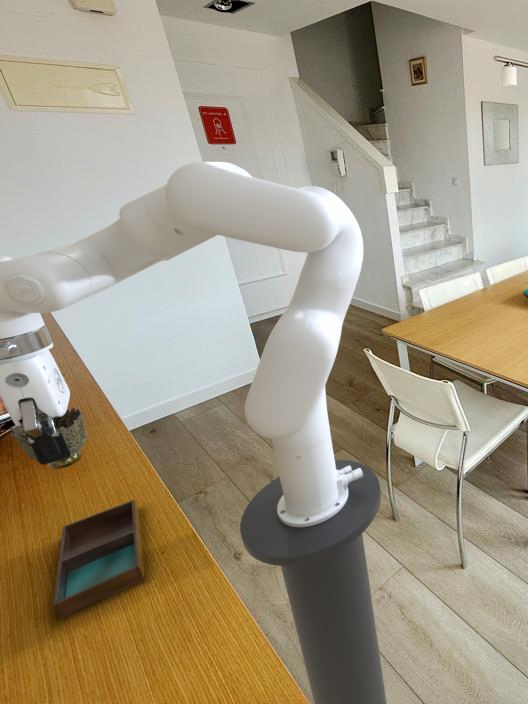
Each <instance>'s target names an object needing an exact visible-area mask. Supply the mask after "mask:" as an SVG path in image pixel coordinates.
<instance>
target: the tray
mask: <svg viewBox="0 0 528 704" xmlns="http://www.w3.org/2000/svg"><path fill="white" fill-rule="evenodd" d="M140 521H141V519H140V511H139V509H138V506H137V503H136V501H135V499H131V500H129V501H127V502H124V503H121V504H119V505H116V506H113V507H110V508H108V509H105V510H102V511H100V512H97V513H95V514H92V515H90V516H87V517H84V518H81V519H78V520H76V521H73V522H71V523H68V524H66V525H63V526H62V529H61V537H60V546H59V553H58V554H59V555H58V562H57V571H56V579H55V586H54V593H53V603H52V607H53V608H54V610H55V612H56V614H57V616H58V618H59V620H60V621H62V620H64V619H66V618H68V617H70V616H72V615H74V614H77V613H79V612H80V611H82V610H84V609H87V608H89V607H91V606H93V605H95V604H97V603H100V602H101V601H104V600H106V599H108V598H110V597H112V596H114V595H116V594H118V593H120V592H123V591H125V590H127V589H128V588H131V587H133V586H135V585H137V584H140V583H142V582H143V581H145V568H144V555H143V544H142V532H141V522H140Z"/></svg>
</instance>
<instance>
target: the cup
mask: <svg viewBox="0 0 528 704" xmlns="http://www.w3.org/2000/svg"><path fill="white" fill-rule="evenodd" d="M45 417H47V414H45V415H39V416H38V418H39V419H41V418H45ZM54 420H55V423H56V427H57V430H58V434H59V433H62V434H63V436H64V439H65V441H66V443H67V445H68V447H69V450H70V452H71V455H70V457H68V458H64V459H61V460H58V461H54V462H51V463H48V464H47V466H48V467H49V468H51V469H54V470H61V469H65V468H67V467H71V466H72V465H75V464H76V463H78V462H79V461H80V459H81V458H82V452H81V451H82V450H83V448H84V447H85V445H86V443H87V429H86V425H85V421H84V417H83V412H82V410H81V411H80V409H79V408H75V407H72V408H71V409H70V410H69V409H68V408H67V411H66V413H65V414H64V415H63V416H62V417H58V416H57V417H54ZM41 425H42V427H47V428H49V426H48V422H44V423H41ZM11 437H13V439H14V441H16V443H17V444H18V445H19V447H20V448H21V449H22V450H23V452H24V453H25V454H26V455H27V456H28V457H29V458H30V459H32V460H33V461H35V462H37V463H39V461H38V459H37V457H36V455H35V453H34V451H33V449H32V447H31V445H30V442H29V440H28V436H27V433H26V432H25V430H24V426H23V427H21V426H15V427H11Z"/></svg>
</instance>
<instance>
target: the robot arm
mask: <svg viewBox="0 0 528 704" xmlns="http://www.w3.org/2000/svg"><path fill="white" fill-rule="evenodd" d="M118 213H119V218H118V219H117V220H116V221H114V222H112V223H111V224H110V225H108V226H106V227H104V228H102V229H100V230H99V231H96V232H94V233H92V234H90V235H87V236H86V237H84V238H82V239H80V240H78V241H76V242H73V243H70V244H68V245H65V246H62V247H57V248H53V249H49V250H46V251H42V252H38V253H36V254H32V255H27V256H24V257H20V258H15V259H14V258H13V257H11V256H8V255H3V254H0V399H1V401H2V402H3V405H4V408H5V409H6V411H7V413H8V415H9V417H10V418H11V421H12V422H13V423H14V425H15V426H16V427H19V426H21V427H23V426H24V430H25V432H26V433H27V436H28V440H29V442H30V445H31V447H32V449H33V451H34V453H35V455H36V457H37V459H38V461H39V462H38V463H39V465H41V466H42V465H43V466H44V465H45V466H46V465H48V463H51V462H54V461H58V460H61V459H64V458H68V457H70V455H71V452H70V450H69V447H68V445H67V443H66V441H65V439H64V436H63V434H62V433H59V434H58V430H57V427H56V423H55V420H54V417H57V416H58V417H62V416H63V415H64V414H65V413H66V411H67V409H68V406H69V402H70V399H71V398H70V397H71V392H70V388H69V386H68V384H67V382H66V380H65V378H64V376H63V374H62V372H61V370H60V368H59V366H58V364H57V362H56V360H55V358H54V356H53V355H52V353H51V351H50V350H51V349H52V348H53V347H54V343H53V340H52V338H51V336H50V333H49V331H48V328H47V326H46V324H45V321H44V319H43V317H42V314H46V313H52V312H57V311H61V310H64V309H66V308H69V307H70V306H73V305H75V304H77V303H80V302H81V301H83V300H85V299H87V298H89V297H92V296H94V295H97V294H98V293H100V292H103V291H105V290H108V289H109V288H111V287H113V286H116V284H119V283H121V282H122V281H124V280H126V279H129V278H130V277H132V276H135V275H136V274H138V273H140V272H142V271H144V270H146V269H147V268H150V267H152V266H154V265H156V264H158V263H160V262H163V261H170V260H172V259H174V258H176V257H177V256H180V255H181V254H184V253H185V252H187V251H189V250H191V249H193V248H195V247H197V246H198V245H199V246H200V245H201V244H204V243H205V242H207V241H209V240H210V239H211V240H212V239H213V238H215V237H217V236H221V237H225V238H229V239H234V240H238V241H242V242H247V243H252V244H256V245H261V246H266V247H270V248H275V249H280V250H284V251H289V252H296V253H304V254H305V253H306V256H305V259H304V263H303V265H302V268H301V271H300V273H299V277H298V279H297V280H298V281H297V283H296V286H295V289H294V292H293V294H292V297H291V299H290V302H289V303H288V306H287V307H286V309H285V311H284V312H283V313H282V315H281V316H280V317H279V319H278V320H277V322H276V324H275V326H274V327H273V328H272V330H271V332H270V333H269V336H268V338H267V340H266V342H265V345H264V348H263V351H262V353H261V356H260V359H259V362H258V365H257V367H256V371H255V373H254V376H253V379H252V381H251V385H250V386H249V387H250V388H249V391H248V392H247V396H246V399H245V401H244V417H245V420H246V423H247V424H248V426H249V427H250V428H251V429H252V430H253V431H254V433H256V434H257V435H258V436H261V437H263V438H267V439H270V440H271V444H272V449H273V453H274V459H275V463H276V467H277V471H278V477H280V481H281V486H282V490H283V494H284V495H283V496H282V497H281V499H280V500H279V503H278V505H277V512H278V516H279V519H280V520H281V521H282V522H283V523H284V524H286V525H288V526H291V527H308V526H313V525H316V524H319V523H321V522H324V521H326V520H327V519H329V518H331V517H332V516H334V515H335V514H336V513H338V512H339V511H340V510H341V509H342V507H343V506H344V505H345V503H346V501H347V499H348V487H347V486H348V483H349V482H351V481H353V480H357V479H359V478H361V477H363V472H362V470H361V468H358V469H356V470H353V471H352V469H351V466H350V465H349V466H347V467H345V468H343V469H341V470H336V465H335V459H336V458H335V454H334V447H333V441H332V435H331V428H330V421H329V420H330V419H329V414H328V407H327V406H328V405H327V393H326V392H327V391H326V384H327V381H328V379H329V376H330V374H331V371H332V369H333V367H334V363H335V360H336V357H337V354H338V351H339V346H340V342H341V336H342V330H343V324H344V321H345V318H346V315H347V312H348V309H349V307H350V304H351V302H352V299H353V296H354V292H355V289H356V287H357V284H358V282H359V279H360V276H361V271H362V267H363V261H364V239H363V235H362V231H361V228H360V226H359V223H358V221H357V219H356V217H355V215H354V214H353V212H352V211H351V209H350V208H349V207H348V205H347V204H345V202H344V201H343V200H342V199H341V198H340V197H339V196H338V195H337V194H335V193H334V192H332V191H330V190H328V189H326V188H324V187H321V186H317V185H307V186H306V185H305V186H302V187H299V188H297V187H292V186H287V185H284V184H280V183H277V182H273V181H268V180H265V179H261V178H258V177H254V176H252V175H251V174H250V173H249V172H248V171H247V170H245V169H244V168H242V167H240V166H238V165H236V164H234V163H230V162H227V161H196V162H190V163H187V164H184V165H182V166H181V167H179V168H177V169H176V170H174V172H173V173H171V175H170V177H169V178H168V180H167V183H166V184H164V185H163V186H160V187H158V188H156V189H154V190H152V191H150V192H148V193H145V194H143V195H142V196H139V197H137V198H135V199H133V200H131V201H129V202H127V203H125V204H123V205H122V206H121V207H120V209H119V212H118ZM45 414H47V417H45V418H41V419H39V418H38V416H39V415H43V416H44V415H45ZM44 422H48V426H49V428H47V427H42V425H41V423H44ZM345 474H346V475H345Z"/></svg>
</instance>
